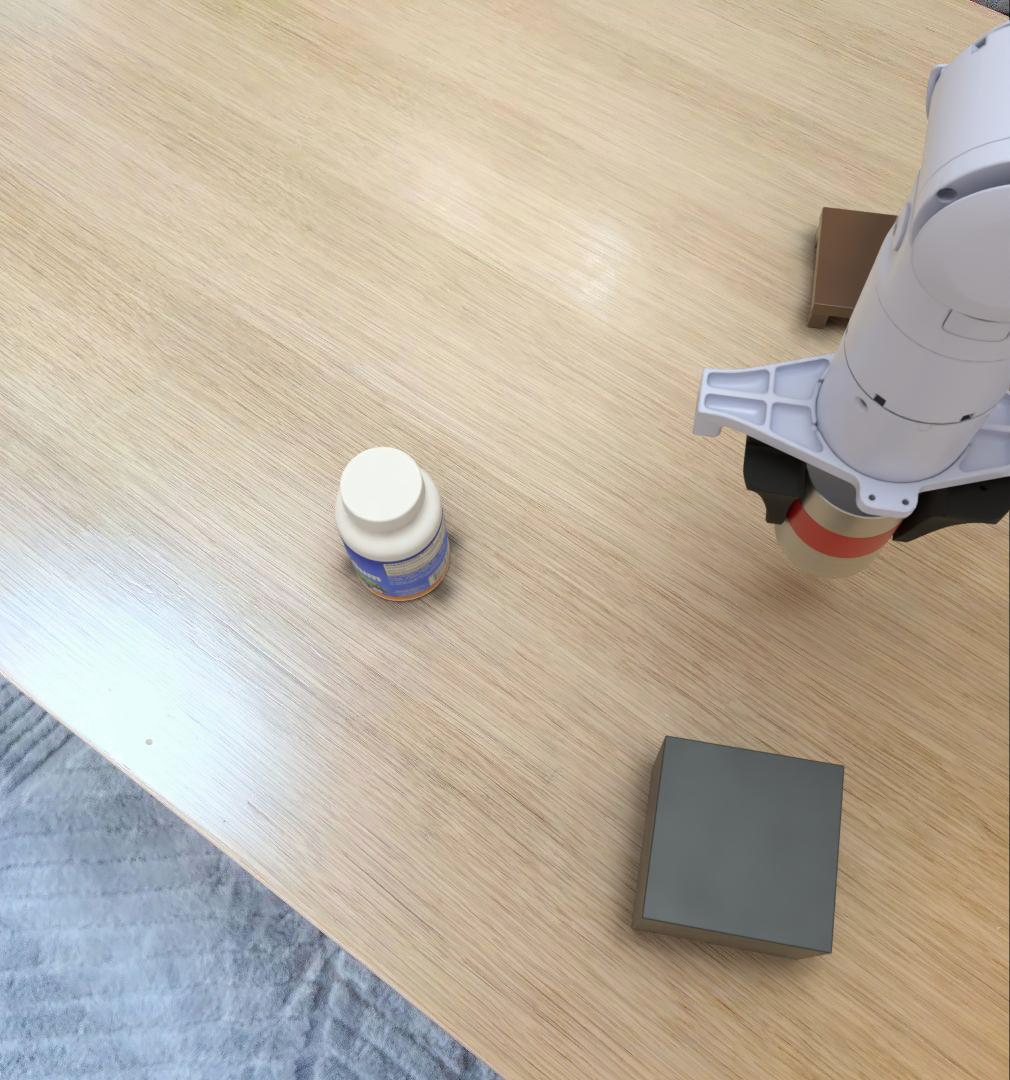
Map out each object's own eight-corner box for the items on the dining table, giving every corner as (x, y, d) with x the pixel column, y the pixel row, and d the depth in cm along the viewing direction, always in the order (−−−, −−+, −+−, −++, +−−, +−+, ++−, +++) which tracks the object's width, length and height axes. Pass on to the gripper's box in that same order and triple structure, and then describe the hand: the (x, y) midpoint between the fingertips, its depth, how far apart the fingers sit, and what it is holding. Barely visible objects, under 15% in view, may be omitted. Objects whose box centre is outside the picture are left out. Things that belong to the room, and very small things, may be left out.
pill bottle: (339, 539, 63) (303, 461, 54) (426, 497, 63) (405, 414, 54) (380, 621, 61) (350, 554, 52) (469, 577, 61) (455, 504, 52)
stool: (930, 246, 68) (943, 220, 66) (925, 343, 66) (938, 319, 64) (814, 232, 69) (823, 206, 67) (805, 328, 67) (814, 303, 64)
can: (885, 488, 53) (931, 417, 47) (880, 587, 51) (926, 527, 45) (778, 474, 54) (808, 401, 47) (769, 571, 52) (799, 509, 45)
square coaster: (811, 792, 56) (845, 765, 50) (798, 960, 53) (832, 954, 47) (652, 765, 57) (665, 734, 51) (631, 928, 54) (641, 918, 48)
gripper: (703, 425, 38) (666, 570, 50) (1155, 485, 36) (1000, 619, 49) (724, 253, 40) (684, 431, 53) (1147, 302, 39) (1002, 474, 51)
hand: (836, 512), depth 51 cm, fingers closed on can, 5 cm apart
